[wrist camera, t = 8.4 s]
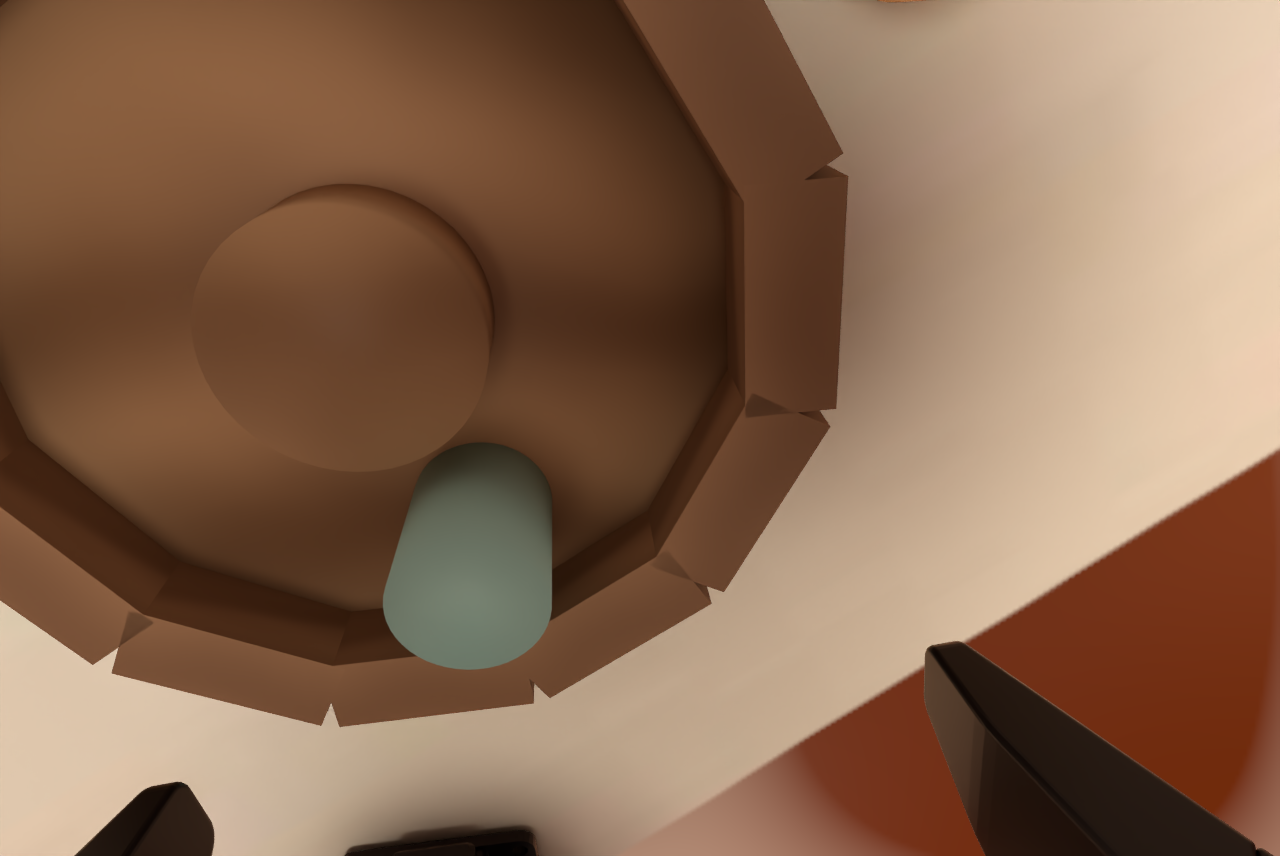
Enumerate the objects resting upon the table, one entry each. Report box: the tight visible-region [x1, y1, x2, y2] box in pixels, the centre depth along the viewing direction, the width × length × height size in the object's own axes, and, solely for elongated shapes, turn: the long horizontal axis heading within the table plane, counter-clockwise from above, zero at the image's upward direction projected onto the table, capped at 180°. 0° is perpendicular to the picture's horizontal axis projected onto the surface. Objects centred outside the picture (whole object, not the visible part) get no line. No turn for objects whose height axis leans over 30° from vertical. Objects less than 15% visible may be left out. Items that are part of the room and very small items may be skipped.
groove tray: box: [0, 0, 848, 727], centre depth 17 cm, size 20×20×3 cm
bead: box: [383, 442, 552, 670], centre depth 18 cm, size 3×3×4 cm
